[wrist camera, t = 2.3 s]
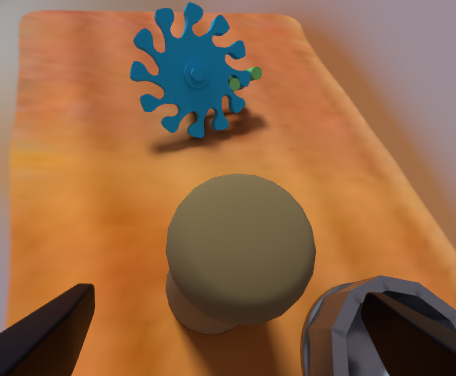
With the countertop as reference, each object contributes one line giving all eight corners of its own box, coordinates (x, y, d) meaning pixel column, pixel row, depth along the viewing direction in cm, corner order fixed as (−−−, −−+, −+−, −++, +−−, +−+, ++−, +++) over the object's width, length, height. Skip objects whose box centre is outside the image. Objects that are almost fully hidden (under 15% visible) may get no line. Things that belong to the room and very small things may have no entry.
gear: (136, 140, 20) (123, -15, 17) (131, 134, 25) (120, 14, 22) (262, 137, 24) (268, 13, 21) (235, 132, 29) (237, 32, 26)
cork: (268, 264, 19) (363, 196, 9) (232, 354, 16) (316, 396, 6) (195, 224, 19) (210, 121, 10) (146, 304, 16) (99, 270, 7)
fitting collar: (461, 476, 15) (539, 517, 11) (299, 454, 14) (334, 490, 11) (423, 295, 19) (470, 289, 16) (300, 272, 19) (325, 261, 16)
